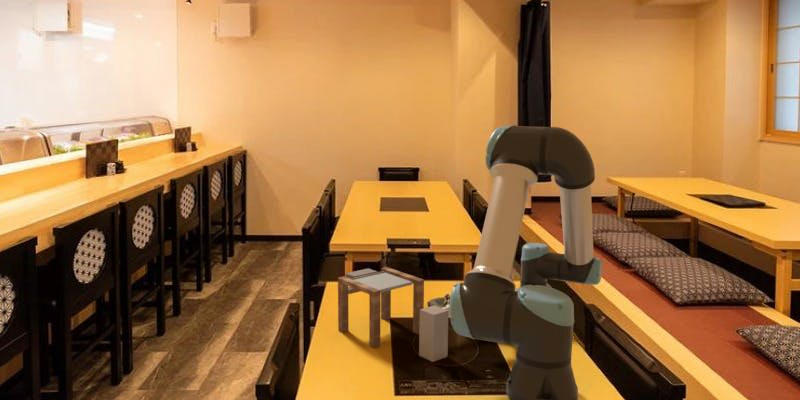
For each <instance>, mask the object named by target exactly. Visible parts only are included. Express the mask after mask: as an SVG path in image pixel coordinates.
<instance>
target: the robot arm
mask: <svg viewBox="0 0 800 400" xmlns="http://www.w3.org/2000/svg"><path fill="white" fill-rule="evenodd" d="M485 153H486V155H485V165H486V168H487V170H488V171H489V175H490V177H491V179H493V184H492V188H491V193H490V197H489V202H488V205H487V209H486V214H485V219H484V222H483V227H482V231H481V236H480V240H479V245H478V249H477V253H476V258H475V261H474V266H473V268H472V269H471V270H469V271H468V272H466V273H465V275H464V279H463V282H462V281H461V282H456V283H455V284H454V285H453V287H452V288H451V291H450V295H451V296H450V306H447V307H443V309H446V310H449V311H448V318H450V323H451V327H452V329H453V330H454V332H455V333H456V334H457V335H459V336H462V337H467V338H470V339H472V340H481V341H485V342H487V341H488V342H493V343H496V344H497V343H499V344H502V345H508V346H514V347H515V360H514V362H513V365H512V368H511V370H510V372H509V375H508V378H507V380H506V390H505V391H506V396H507V397H508V399H510V400H578V399H579V395H578V394H579V389H578V388H579V387H578V385H577V383H576V379H575V374H574V370H573V367H572V355H573V354H572V352H573V351H572V350H573V339H574V338H573V333H574V324H575V315H574V314H575V313H574V312H575V311H574V309H575V308H574V302H573V301H572V299H571V297H569V295H567V294H566V293H564V292H562V291H560V290H559V289H556V288H554V287H553V288H552V286H551V285H550V284H549V283H548V280H551V281H552V280H553V281H559V282H560V281H561V282H568V283H575V284H582V285H591V286H592V285H593V286H596V285H597V286H598V285H599V284H600V282H601V279H602V275H603V261H602V258H600V257H599V258H598V257H595V256H594V239H593V238H594V236H593V234H594V233H593V207H592V206H593V205H592V185H593V184H594V182H595V179H596V175H595V174H596V171H595V165H594V164H595V163H594V161H593V158H592V156H591V153H590V151H589V150H588V148H587V147H586V145H585V144H584V142H583V141H582V140H581V139H580V138H579V137H577V135H575V133H573V132H571V131H569V130H568V129H565V128H563V127H559V126H551V127H550V126H519V125H515V124H512V125H501V126H499V127H497V128H496V129H495V130H494V131H493V132H492V133H491V135H490V137H489V139H488V141H487V145H486V150H485ZM539 175H542V176H543V175H544V176H554V177H553V179H554V183H555V185H556V186H557V187H559V197H560V198H559V200H560V209H561V212H560V213H561V225H562V237H563V251H564V253H557V252H552V251H551V252H550V248H549V245H548V244H546V243H541V242H527V243H525V244H523V246H522V247H521V258H520V280H519V287H516V283H515V282H514V280H513V279H512V278H511V277H512V272H513V268H514V267H513V266H514V263H515V258H516V253H517V249H518V243H519V240H520V233H521V228H522V224H523V220H524V215H525V211H526V204H527V200H528V195H529V189H530V188H531V187H533V186H535V185H536V184H537V182H538V178H539Z"/></svg>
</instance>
